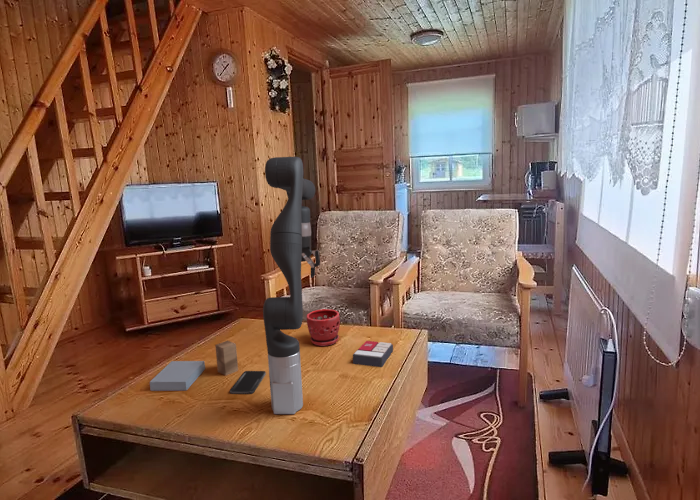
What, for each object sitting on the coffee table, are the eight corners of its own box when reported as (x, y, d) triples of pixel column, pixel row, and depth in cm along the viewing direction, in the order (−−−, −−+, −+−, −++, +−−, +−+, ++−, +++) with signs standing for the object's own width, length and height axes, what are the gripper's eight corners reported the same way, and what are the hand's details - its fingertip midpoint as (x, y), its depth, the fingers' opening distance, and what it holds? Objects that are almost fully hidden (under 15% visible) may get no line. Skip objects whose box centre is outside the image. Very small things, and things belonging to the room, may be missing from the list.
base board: (186, 390, 146) (185, 381, 146) (150, 390, 147) (149, 382, 147) (205, 368, 162) (204, 360, 162) (172, 369, 163) (171, 361, 162)
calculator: (393, 342, 171) (382, 356, 157) (393, 353, 172) (382, 367, 158) (365, 339, 175) (352, 352, 161) (365, 350, 176) (352, 364, 162)
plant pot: (310, 336, 190) (308, 309, 188) (341, 336, 189) (340, 308, 187) (305, 348, 177) (304, 319, 175) (339, 348, 176) (338, 318, 174)
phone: (228, 391, 143) (244, 370, 158) (228, 395, 143) (245, 373, 158) (252, 392, 142) (266, 370, 157) (252, 395, 142) (267, 374, 157)
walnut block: (238, 370, 160) (235, 343, 158) (225, 375, 156) (223, 348, 154) (230, 366, 163) (227, 340, 161) (217, 371, 159) (215, 344, 158)
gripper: (279, 235, 167) (280, 278, 170) (317, 235, 166) (317, 279, 168) (285, 233, 175) (285, 274, 177) (321, 233, 173) (321, 275, 175)
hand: (301, 276), depth 172 cm, fingers open, 8 cm apart
